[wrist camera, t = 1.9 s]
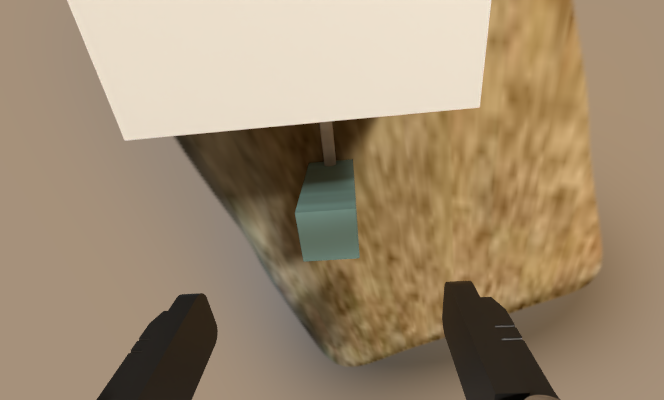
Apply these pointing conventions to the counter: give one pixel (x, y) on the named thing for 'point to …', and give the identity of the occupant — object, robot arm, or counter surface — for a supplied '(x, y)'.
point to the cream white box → (280, 60)
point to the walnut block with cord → (328, 206)
